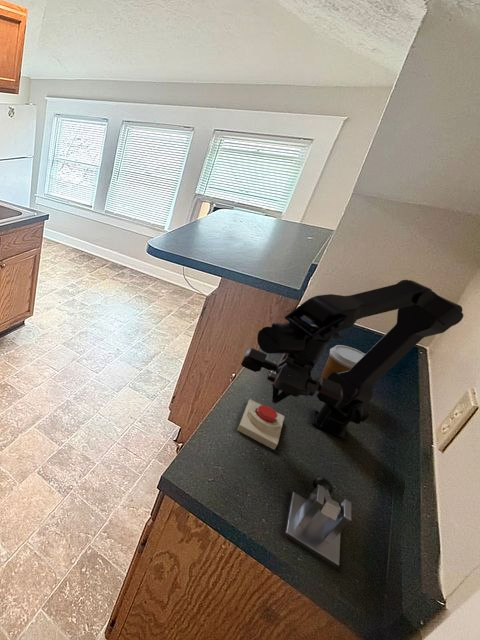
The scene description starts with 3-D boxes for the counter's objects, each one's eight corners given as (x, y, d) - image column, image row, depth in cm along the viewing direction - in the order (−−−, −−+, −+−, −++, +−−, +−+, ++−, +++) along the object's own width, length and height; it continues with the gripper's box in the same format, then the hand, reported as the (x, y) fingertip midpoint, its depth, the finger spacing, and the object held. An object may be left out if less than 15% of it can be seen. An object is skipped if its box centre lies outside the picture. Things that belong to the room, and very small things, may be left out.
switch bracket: (290, 495, 79) (310, 468, 75) (338, 522, 75) (362, 495, 71) (283, 535, 72) (305, 508, 67) (336, 569, 67) (362, 541, 63)
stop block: (246, 405, 102) (252, 394, 100) (280, 422, 97) (287, 410, 95) (236, 431, 93) (242, 419, 91) (273, 451, 89) (281, 439, 87)
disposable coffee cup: (312, 371, 117) (332, 339, 112) (351, 386, 112) (373, 354, 107) (311, 386, 111) (331, 354, 105) (352, 404, 106) (376, 371, 100)
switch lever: (309, 484, 81) (316, 471, 80) (327, 494, 79) (334, 481, 78) (315, 512, 70) (323, 497, 69) (337, 524, 68) (345, 509, 68)
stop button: (257, 407, 96) (260, 402, 95) (275, 416, 94) (278, 411, 93) (254, 416, 93) (257, 411, 92) (273, 425, 91) (276, 420, 90)
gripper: (249, 347, 83) (224, 398, 90) (357, 391, 73) (319, 446, 80) (258, 326, 91) (234, 376, 98) (357, 364, 81) (322, 416, 88)
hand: (274, 402), depth 91 cm, fingers closed
